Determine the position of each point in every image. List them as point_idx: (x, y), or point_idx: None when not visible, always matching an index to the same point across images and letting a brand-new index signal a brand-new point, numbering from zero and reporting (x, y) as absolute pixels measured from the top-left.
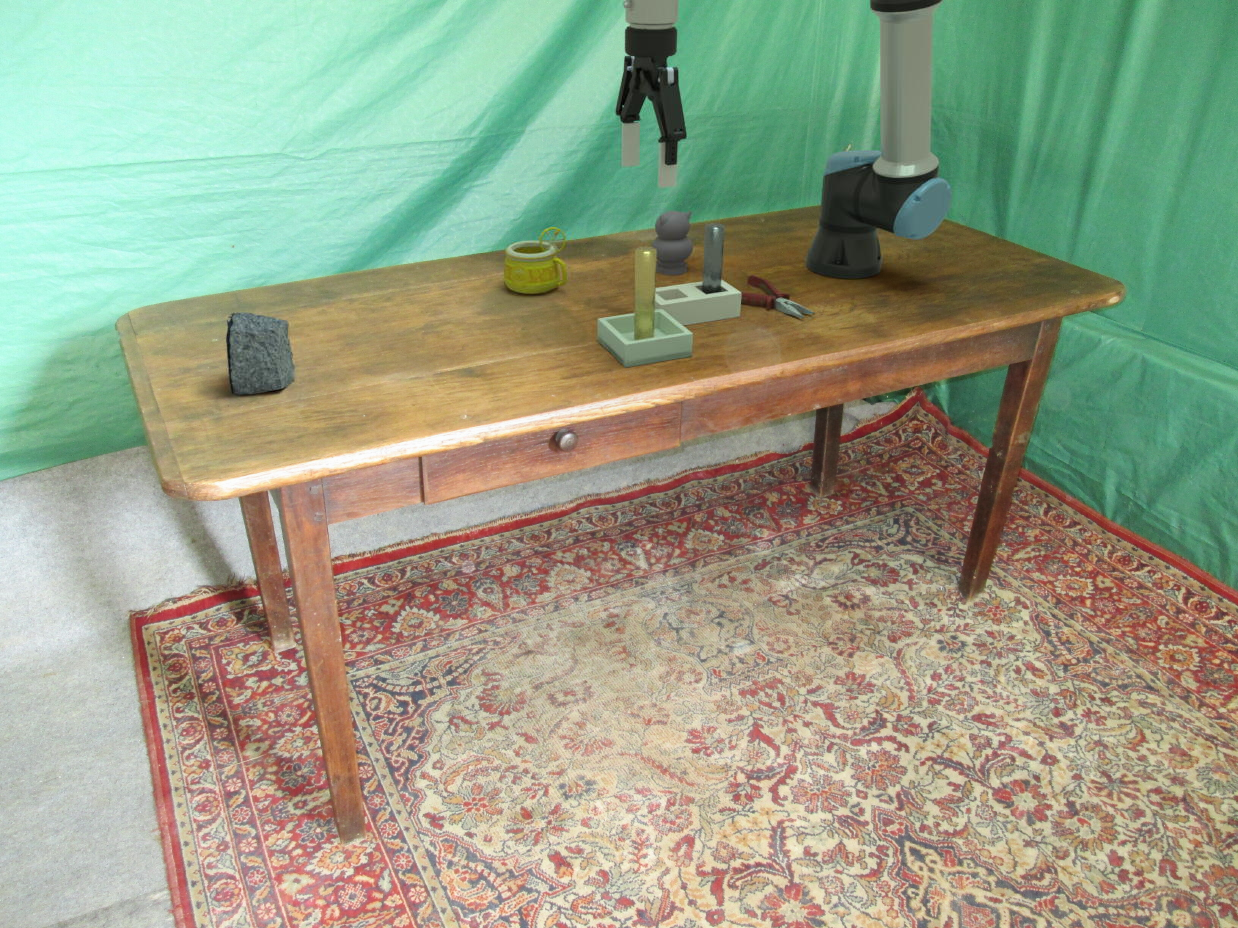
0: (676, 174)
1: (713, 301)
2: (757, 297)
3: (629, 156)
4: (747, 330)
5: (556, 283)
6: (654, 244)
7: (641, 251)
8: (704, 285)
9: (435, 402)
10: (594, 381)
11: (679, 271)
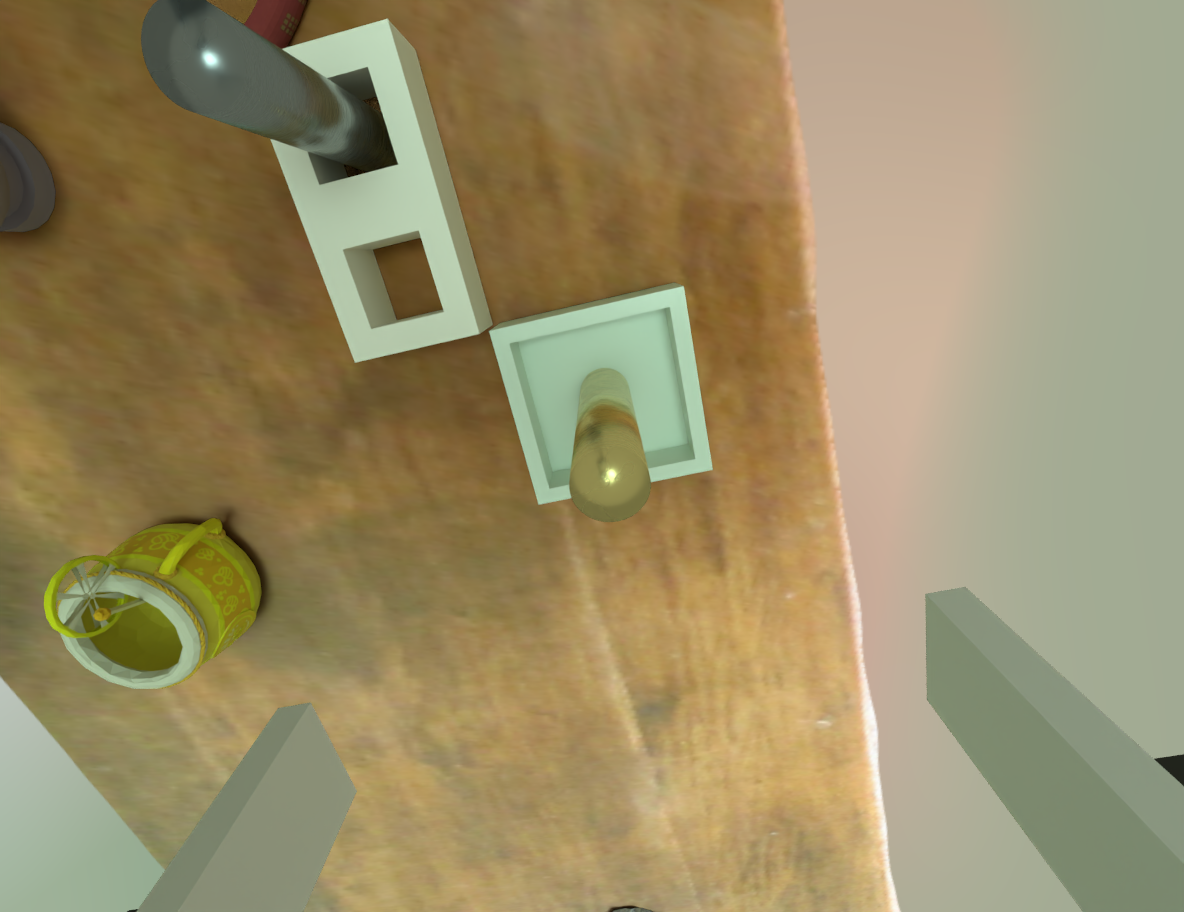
0: (1032, 650)
1: (427, 145)
2: None
3: (303, 826)
4: (526, 60)
5: (218, 537)
6: None
7: (625, 504)
8: (352, 157)
9: (758, 756)
10: (750, 518)
11: (32, 157)
